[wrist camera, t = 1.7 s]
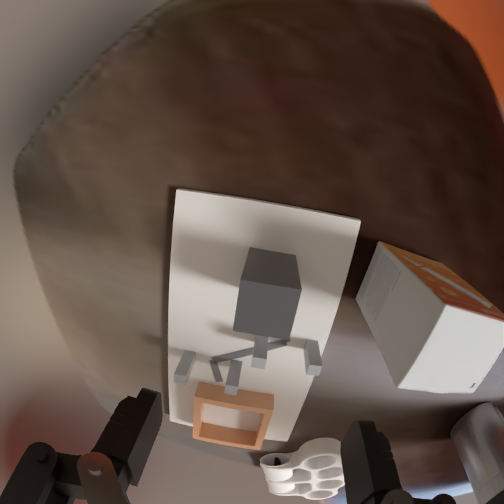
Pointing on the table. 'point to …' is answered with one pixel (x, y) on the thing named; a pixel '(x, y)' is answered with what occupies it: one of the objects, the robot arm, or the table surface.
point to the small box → (429, 322)
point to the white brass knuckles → (306, 470)
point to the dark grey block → (268, 294)
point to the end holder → (240, 402)
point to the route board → (225, 300)
